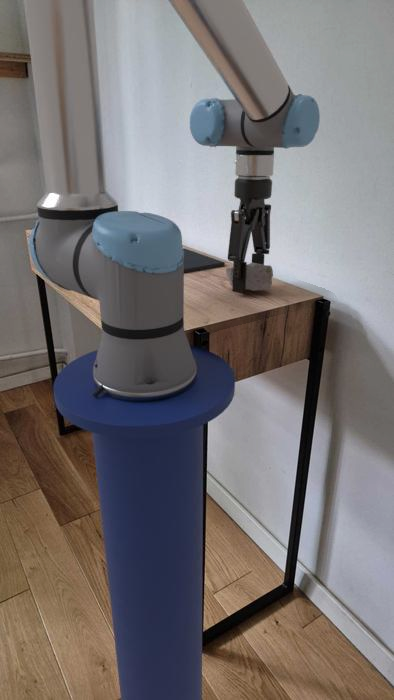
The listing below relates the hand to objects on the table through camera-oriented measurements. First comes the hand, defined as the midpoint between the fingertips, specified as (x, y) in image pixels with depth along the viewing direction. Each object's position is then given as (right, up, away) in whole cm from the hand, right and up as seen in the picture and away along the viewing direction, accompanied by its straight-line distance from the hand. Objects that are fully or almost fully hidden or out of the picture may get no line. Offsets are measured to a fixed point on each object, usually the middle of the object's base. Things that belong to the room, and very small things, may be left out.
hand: (247, 287), depth 106 cm
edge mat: (-15, +10, +25) cm, 31 cm away
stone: (0, 0, 0) cm, 1 cm away
